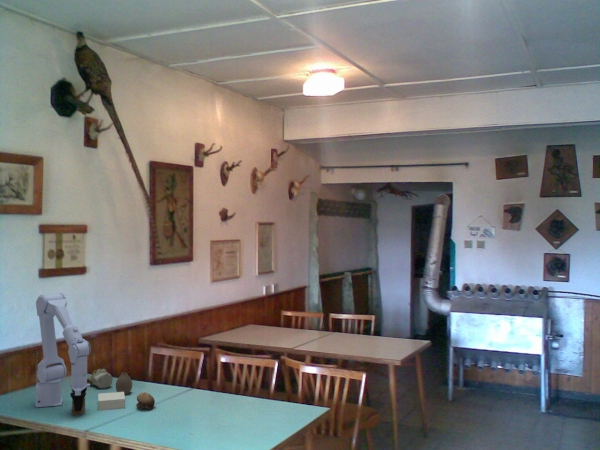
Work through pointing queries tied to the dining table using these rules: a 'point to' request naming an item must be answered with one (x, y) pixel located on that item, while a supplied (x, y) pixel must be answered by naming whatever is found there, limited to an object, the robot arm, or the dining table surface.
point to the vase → (124, 384)
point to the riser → (111, 400)
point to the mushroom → (145, 401)
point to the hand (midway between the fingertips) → (78, 408)
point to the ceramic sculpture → (100, 378)
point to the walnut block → (78, 411)
